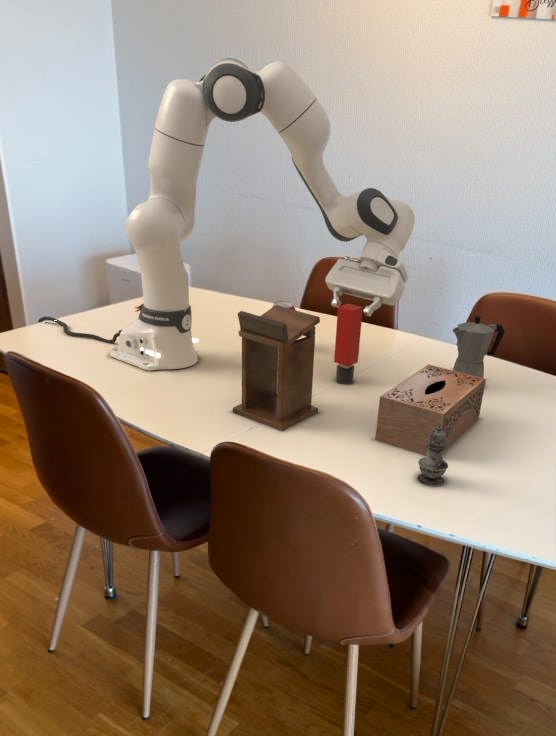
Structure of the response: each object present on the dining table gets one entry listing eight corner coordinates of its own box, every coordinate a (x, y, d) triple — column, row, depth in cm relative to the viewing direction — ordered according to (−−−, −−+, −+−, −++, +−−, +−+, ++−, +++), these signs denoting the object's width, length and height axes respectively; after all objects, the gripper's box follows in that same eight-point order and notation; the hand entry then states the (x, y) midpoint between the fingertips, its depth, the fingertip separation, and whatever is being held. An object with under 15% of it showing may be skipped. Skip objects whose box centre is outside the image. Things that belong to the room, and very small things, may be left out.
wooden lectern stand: (271, 395, 170) (273, 299, 158) (318, 412, 164) (324, 313, 152) (232, 412, 160) (232, 311, 148) (281, 430, 154) (284, 326, 142)
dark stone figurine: (413, 472, 143) (421, 416, 136) (442, 473, 143) (451, 418, 137) (418, 486, 138) (427, 429, 131) (448, 487, 138) (458, 431, 132)
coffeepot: (453, 392, 182) (465, 322, 173) (435, 379, 189) (446, 311, 180) (504, 388, 188) (517, 320, 178) (485, 375, 195) (497, 309, 186)
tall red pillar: (358, 305, 179) (338, 301, 172) (372, 309, 177) (354, 305, 170) (341, 380, 185) (322, 381, 178) (355, 385, 183) (336, 385, 176)
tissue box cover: (422, 403, 174) (428, 364, 169) (478, 418, 168) (486, 378, 163) (375, 439, 154) (379, 396, 149) (436, 458, 149) (443, 414, 143)
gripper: (336, 247, 177) (310, 293, 175) (407, 262, 168) (381, 311, 166) (345, 263, 183) (320, 308, 180) (414, 279, 174) (389, 327, 171)
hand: (350, 310), depth 173 cm, fingers open, 8 cm apart
